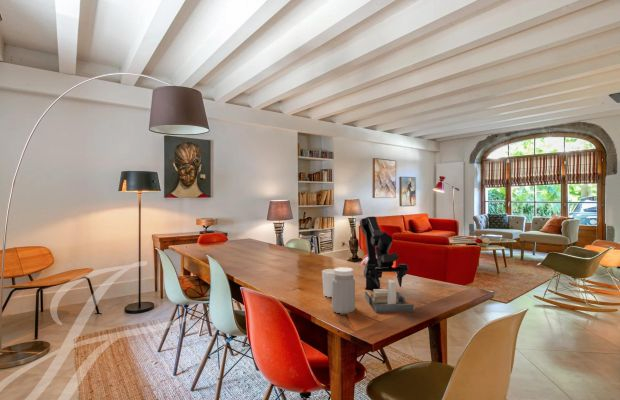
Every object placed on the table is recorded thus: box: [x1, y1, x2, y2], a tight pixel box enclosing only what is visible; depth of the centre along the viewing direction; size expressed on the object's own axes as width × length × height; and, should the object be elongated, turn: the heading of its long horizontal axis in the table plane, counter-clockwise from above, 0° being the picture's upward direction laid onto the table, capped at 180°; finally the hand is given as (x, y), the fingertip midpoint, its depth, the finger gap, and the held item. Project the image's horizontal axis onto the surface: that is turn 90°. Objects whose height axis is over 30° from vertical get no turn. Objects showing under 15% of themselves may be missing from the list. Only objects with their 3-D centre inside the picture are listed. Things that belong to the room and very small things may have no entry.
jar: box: [331, 266, 356, 315], centre depth 140 cm, size 10×10×18 cm
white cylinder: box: [321, 268, 335, 298], centre depth 162 cm, size 10×10×12 cm
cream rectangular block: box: [387, 279, 397, 304], centre depth 140 cm, size 4×2×12 cm, turn 3°
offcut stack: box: [370, 288, 398, 303], centre depth 151 cm, size 7×11×4 cm, turn 93°
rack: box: [364, 291, 415, 314], centre depth 146 cm, size 20×16×4 cm
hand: (390, 286), depth 142 cm, fingers open, 9 cm apart
